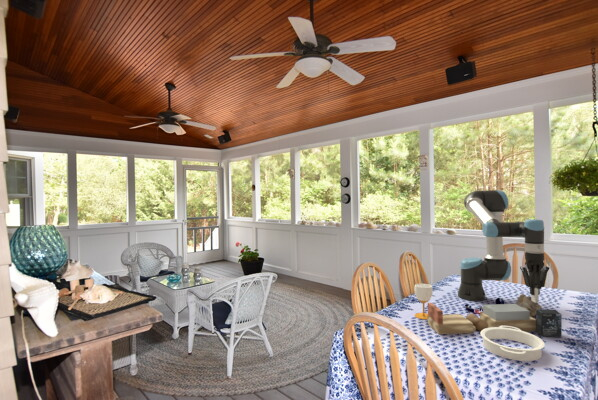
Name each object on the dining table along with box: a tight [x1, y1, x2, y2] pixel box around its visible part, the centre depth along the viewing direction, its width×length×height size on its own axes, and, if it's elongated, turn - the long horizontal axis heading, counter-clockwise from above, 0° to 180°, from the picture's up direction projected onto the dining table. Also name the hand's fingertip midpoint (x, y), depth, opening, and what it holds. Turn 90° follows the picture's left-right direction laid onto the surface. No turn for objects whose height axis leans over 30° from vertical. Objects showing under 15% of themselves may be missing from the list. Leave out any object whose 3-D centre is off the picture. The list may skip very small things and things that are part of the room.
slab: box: [482, 303, 530, 321], centre depth 161 cm, size 10×16×4 cm, turn 92°
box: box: [535, 308, 563, 338], centre depth 152 cm, size 8×6×11 cm
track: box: [427, 302, 536, 335], centre depth 161 cm, size 12×46×10 cm, turn 92°
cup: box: [414, 283, 434, 321], centre depth 176 cm, size 9×9×16 cm
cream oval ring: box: [479, 326, 546, 362], centre depth 139 cm, size 29×22×5 cm
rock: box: [516, 293, 542, 318], centre depth 176 cm, size 9×12×10 cm
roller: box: [465, 313, 488, 332], centre depth 161 cm, size 10×5×5 cm, turn 3°
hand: (534, 301), depth 161 cm, fingers closed
